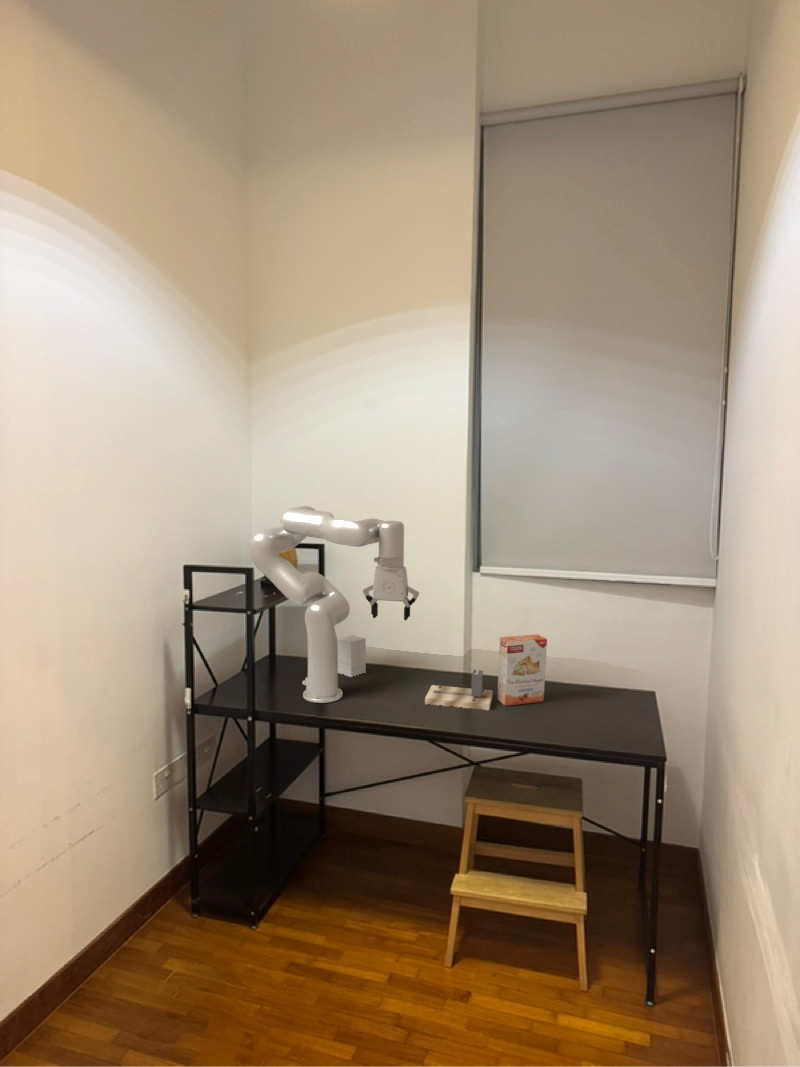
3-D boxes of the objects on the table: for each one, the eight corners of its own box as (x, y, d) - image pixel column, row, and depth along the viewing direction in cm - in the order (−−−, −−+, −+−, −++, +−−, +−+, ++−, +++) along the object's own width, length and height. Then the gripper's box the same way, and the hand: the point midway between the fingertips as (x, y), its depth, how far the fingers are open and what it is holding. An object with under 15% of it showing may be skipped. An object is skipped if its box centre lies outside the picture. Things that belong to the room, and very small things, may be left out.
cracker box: (505, 707, 214) (507, 641, 211) (496, 700, 219) (498, 636, 217) (545, 702, 218) (547, 638, 215) (535, 695, 224) (537, 633, 221)
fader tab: (471, 696, 216) (471, 673, 215) (472, 691, 220) (473, 669, 219) (480, 696, 215) (481, 674, 214) (482, 691, 219) (482, 670, 218)
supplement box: (366, 673, 244) (366, 638, 242) (350, 678, 239) (350, 642, 237) (352, 668, 249) (352, 634, 247) (336, 672, 244) (336, 638, 242)
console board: (424, 704, 215) (425, 697, 215) (431, 690, 227) (431, 684, 227) (489, 710, 211) (489, 703, 211) (492, 696, 223) (492, 689, 222)
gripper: (359, 563, 204) (359, 619, 207) (417, 565, 201) (416, 623, 203) (366, 558, 212) (366, 613, 214) (421, 561, 208) (421, 617, 210)
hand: (390, 618), depth 208 cm, fingers open, 9 cm apart
